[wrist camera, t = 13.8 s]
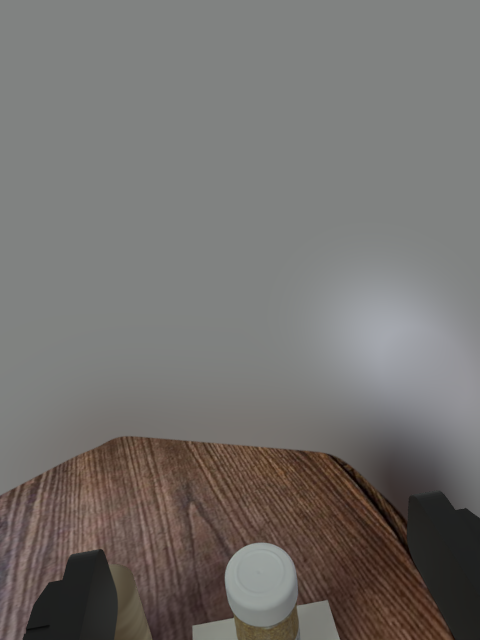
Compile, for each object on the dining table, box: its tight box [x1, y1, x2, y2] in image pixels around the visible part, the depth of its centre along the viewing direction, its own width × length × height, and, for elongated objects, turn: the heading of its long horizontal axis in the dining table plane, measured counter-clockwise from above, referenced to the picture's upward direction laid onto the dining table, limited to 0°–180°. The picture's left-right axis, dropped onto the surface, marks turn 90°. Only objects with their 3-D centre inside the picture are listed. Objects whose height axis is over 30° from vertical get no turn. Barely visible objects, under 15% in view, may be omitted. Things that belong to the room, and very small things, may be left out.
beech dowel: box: [109, 564, 153, 640], centre depth 35 cm, size 4×4×10 cm
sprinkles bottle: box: [225, 543, 301, 640], centre depth 30 cm, size 5×5×13 cm
